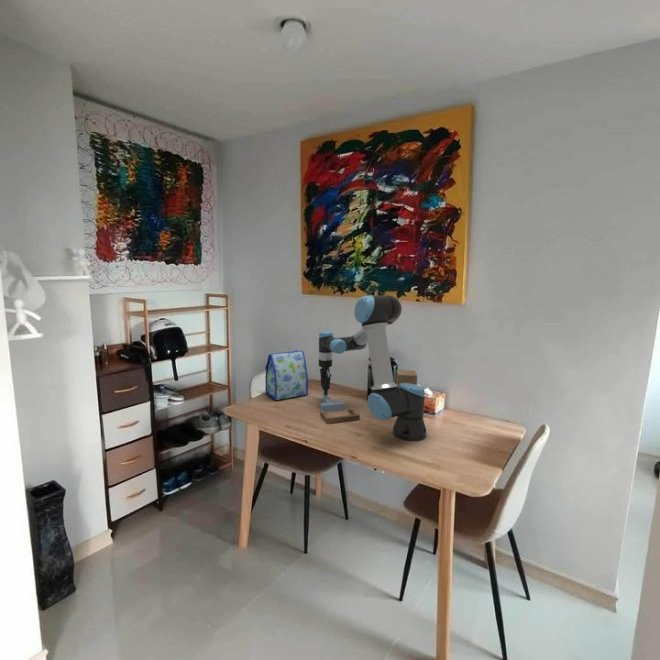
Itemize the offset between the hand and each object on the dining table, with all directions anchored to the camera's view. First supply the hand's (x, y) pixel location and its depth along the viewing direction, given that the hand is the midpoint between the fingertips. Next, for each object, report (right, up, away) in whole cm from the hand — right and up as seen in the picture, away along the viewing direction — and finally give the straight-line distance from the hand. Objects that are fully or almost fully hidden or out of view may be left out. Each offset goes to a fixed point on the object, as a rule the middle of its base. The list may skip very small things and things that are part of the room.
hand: (325, 400), depth 217 cm
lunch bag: (-23, +1, +11) cm, 25 cm away
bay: (+7, -5, -21) cm, 23 cm away
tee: (+3, -2, -7) cm, 8 cm away
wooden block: (+44, -3, -7) cm, 44 cm away
